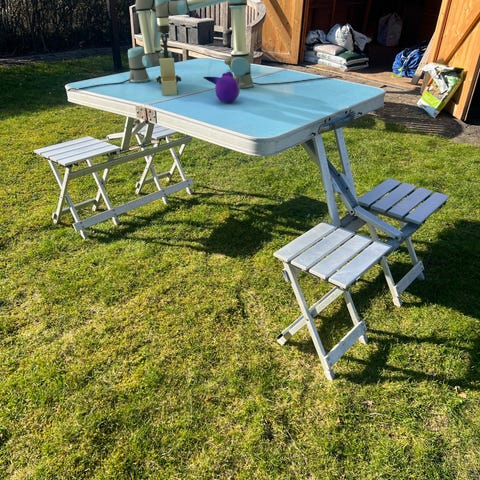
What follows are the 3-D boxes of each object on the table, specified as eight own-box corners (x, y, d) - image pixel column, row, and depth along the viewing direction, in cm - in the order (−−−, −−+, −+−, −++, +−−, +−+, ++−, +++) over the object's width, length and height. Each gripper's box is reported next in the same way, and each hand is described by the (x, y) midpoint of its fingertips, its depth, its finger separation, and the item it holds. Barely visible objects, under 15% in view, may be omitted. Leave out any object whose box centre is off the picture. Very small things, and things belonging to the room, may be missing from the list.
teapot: (228, 72, 362) (227, 52, 355) (221, 70, 371) (220, 50, 364) (250, 69, 372) (250, 50, 364) (243, 67, 380) (243, 48, 373)
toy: (226, 94, 295) (239, 108, 274) (200, 89, 287) (212, 104, 267) (231, 69, 287) (246, 82, 266) (206, 64, 279) (218, 77, 259)
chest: (177, 94, 297) (176, 80, 293) (162, 95, 296) (161, 81, 292) (176, 90, 308) (175, 77, 304) (162, 91, 307) (161, 77, 303)
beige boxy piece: (173, 58, 292) (173, 51, 296) (159, 59, 291) (158, 51, 295) (175, 76, 303) (174, 69, 308) (161, 77, 302) (160, 70, 307)
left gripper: (184, 80, 324) (185, 87, 305) (153, 82, 322) (152, 88, 302) (183, 69, 320) (184, 75, 301) (152, 71, 318) (151, 77, 299)
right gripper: (169, 25, 282) (172, 65, 294) (169, 23, 295) (172, 61, 307) (157, 26, 282) (161, 65, 293) (157, 24, 294) (161, 62, 306)
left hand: (168, 82), depth 302 cm, fingers closed on chest, 9 cm apart
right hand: (167, 63), depth 300 cm, fingers closed on beige boxy piece, 2 cm apart
